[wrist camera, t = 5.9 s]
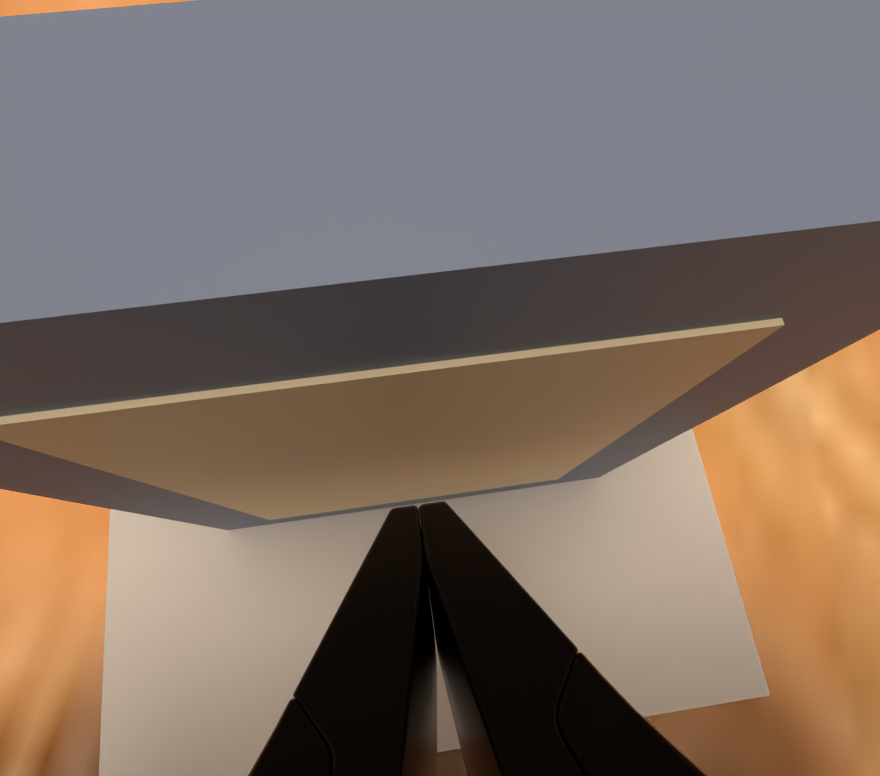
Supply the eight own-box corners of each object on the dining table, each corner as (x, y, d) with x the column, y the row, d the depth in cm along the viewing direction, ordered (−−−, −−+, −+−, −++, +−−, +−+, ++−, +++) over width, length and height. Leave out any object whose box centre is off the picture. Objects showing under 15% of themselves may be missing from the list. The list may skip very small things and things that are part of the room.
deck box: (599, 479, 15) (1147, 199, 4) (227, 533, 14) (-557, 401, 3) (579, 394, 16) (979, -65, 4) (225, 441, 15) (-406, 50, 4)
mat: (761, 691, 14) (770, 695, 13) (106, 803, 13) (97, 810, 12) (561, 0, 21) (564, -11, 21) (136, 36, 20) (130, 26, 20)
